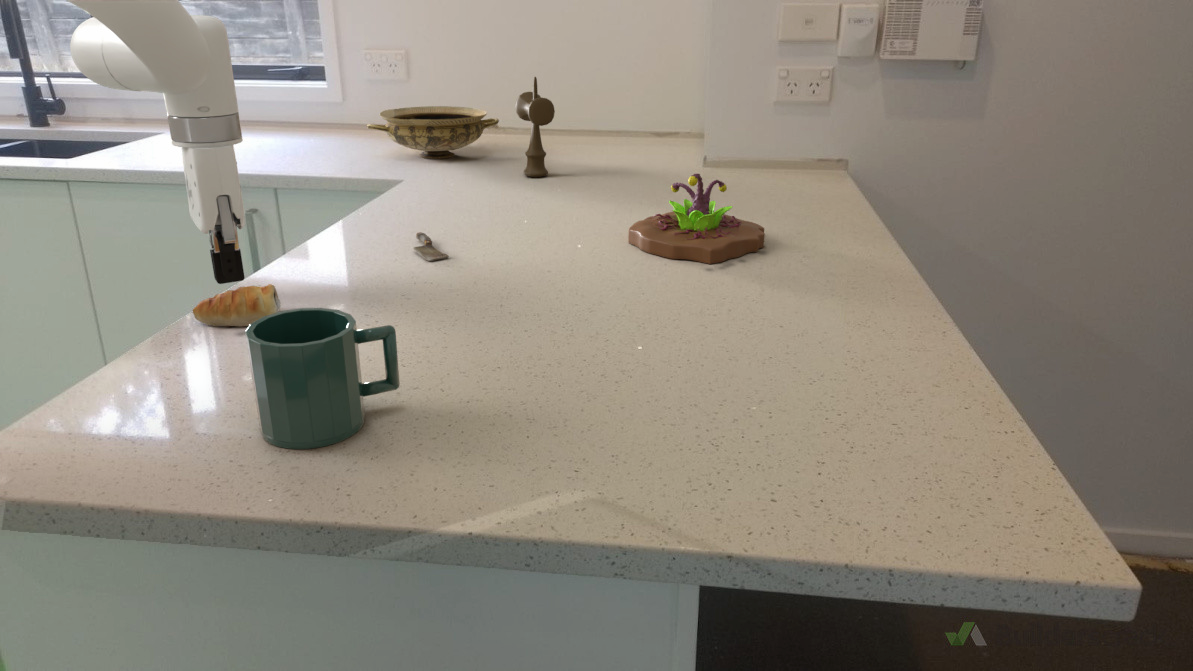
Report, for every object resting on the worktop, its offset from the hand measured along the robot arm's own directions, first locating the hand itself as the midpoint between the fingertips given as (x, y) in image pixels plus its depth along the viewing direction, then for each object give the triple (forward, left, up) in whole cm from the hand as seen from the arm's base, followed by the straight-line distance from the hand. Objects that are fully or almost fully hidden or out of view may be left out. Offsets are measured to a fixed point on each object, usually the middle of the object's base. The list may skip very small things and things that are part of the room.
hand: (230, 280), depth 104 cm
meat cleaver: (+14, +26, -2) cm, 30 cm away
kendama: (+11, +82, -3) cm, 83 cm away
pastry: (+6, -6, -3) cm, 9 cm away
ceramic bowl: (-18, +95, -3) cm, 97 cm away
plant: (+51, +43, -3) cm, 67 cm away
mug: (+29, -24, -2) cm, 38 cm away
